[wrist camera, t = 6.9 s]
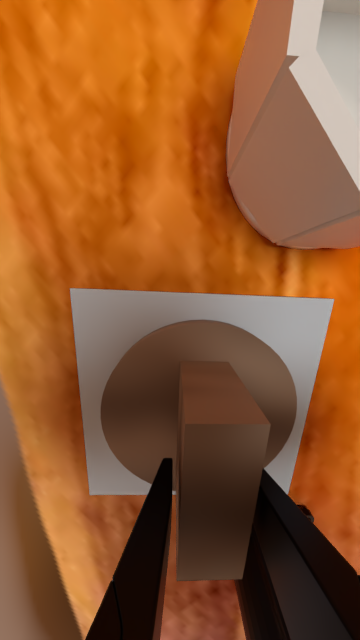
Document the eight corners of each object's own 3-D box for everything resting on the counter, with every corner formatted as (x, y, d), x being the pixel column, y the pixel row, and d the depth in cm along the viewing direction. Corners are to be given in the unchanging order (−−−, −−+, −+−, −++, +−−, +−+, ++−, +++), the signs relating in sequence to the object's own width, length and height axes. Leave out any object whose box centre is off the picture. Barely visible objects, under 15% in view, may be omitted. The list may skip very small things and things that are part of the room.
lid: (270, 474, 12) (337, 607, 7) (111, 475, 12) (65, 617, 7) (301, 322, 10) (433, 364, 5) (102, 316, 9) (19, 355, 4)
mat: (284, 487, 13) (288, 494, 12) (92, 488, 12) (89, 494, 12) (327, 298, 10) (334, 299, 9) (74, 287, 9) (70, 288, 9)
